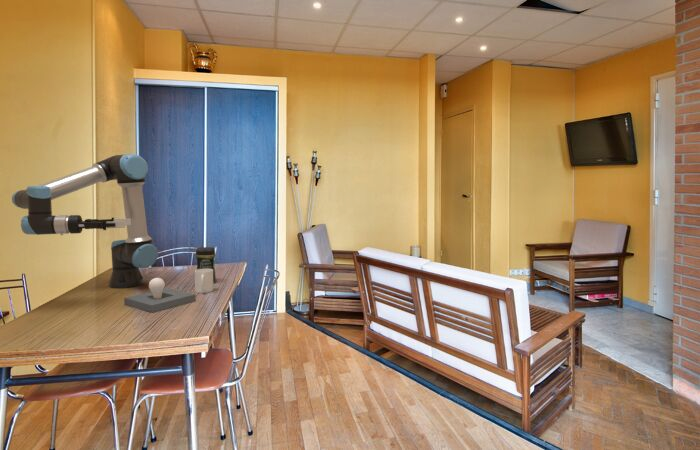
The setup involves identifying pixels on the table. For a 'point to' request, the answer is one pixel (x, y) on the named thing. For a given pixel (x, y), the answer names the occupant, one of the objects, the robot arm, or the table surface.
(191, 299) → the socket plate
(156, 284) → the lightbulb
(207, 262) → the coffee jar
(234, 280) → the table surface
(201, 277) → the cup
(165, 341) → the table surface
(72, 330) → the table surface
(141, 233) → the robot arm
